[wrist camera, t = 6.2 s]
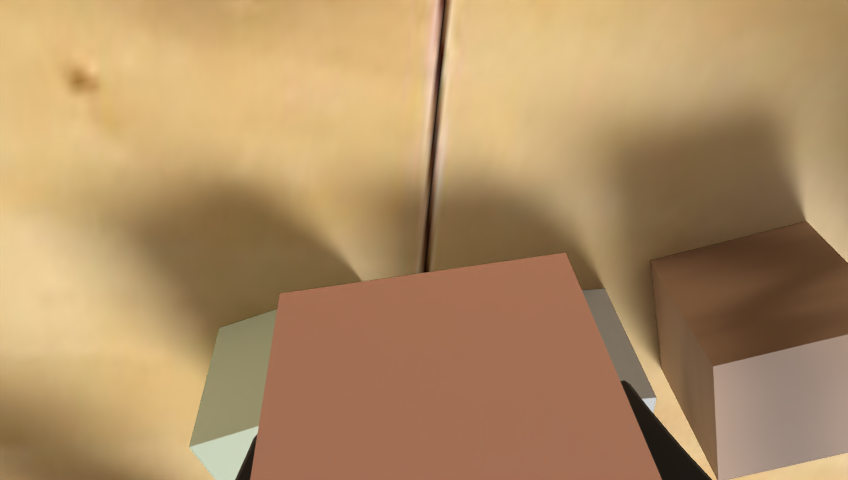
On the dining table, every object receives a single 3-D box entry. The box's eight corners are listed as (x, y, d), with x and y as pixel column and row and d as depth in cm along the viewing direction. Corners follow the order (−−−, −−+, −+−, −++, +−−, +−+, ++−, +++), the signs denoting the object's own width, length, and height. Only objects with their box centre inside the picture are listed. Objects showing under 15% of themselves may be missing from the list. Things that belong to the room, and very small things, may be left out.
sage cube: (362, 279, 23) (362, 394, 19) (414, 384, 25) (425, 504, 21) (219, 326, 23) (188, 447, 19) (285, 423, 26) (271, 548, 22)
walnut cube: (804, 219, 23) (905, 320, 19) (799, 333, 25) (885, 444, 21) (649, 259, 23) (713, 366, 19) (660, 367, 26) (718, 481, 22)
